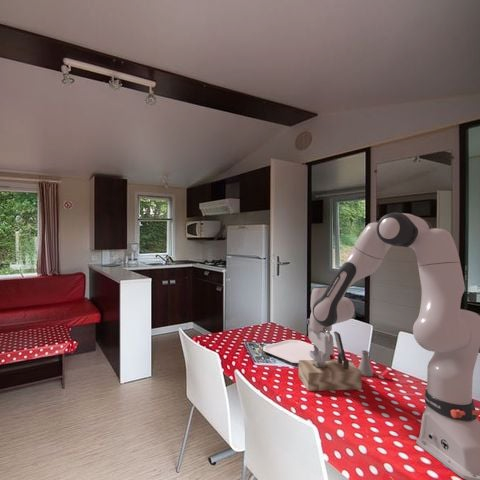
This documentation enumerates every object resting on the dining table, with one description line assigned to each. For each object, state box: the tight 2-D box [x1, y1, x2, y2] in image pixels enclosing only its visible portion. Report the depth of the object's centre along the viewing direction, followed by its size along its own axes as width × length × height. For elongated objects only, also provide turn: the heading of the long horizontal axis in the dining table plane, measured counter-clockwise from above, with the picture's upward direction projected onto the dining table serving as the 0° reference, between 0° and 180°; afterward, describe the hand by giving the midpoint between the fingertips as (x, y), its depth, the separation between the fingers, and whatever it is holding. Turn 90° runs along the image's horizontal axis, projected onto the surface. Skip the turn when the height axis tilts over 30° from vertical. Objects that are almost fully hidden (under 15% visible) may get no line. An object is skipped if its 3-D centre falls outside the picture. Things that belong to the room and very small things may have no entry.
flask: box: [357, 350, 374, 378], centre depth 142 cm, size 7×7×10 cm
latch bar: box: [333, 331, 346, 361], centre depth 132 cm, size 12×4×1 cm
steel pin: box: [310, 351, 331, 368], centre depth 132 cm, size 6×6×8 cm
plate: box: [262, 339, 332, 365], centre depth 165 cm, size 29×29×2 cm
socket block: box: [297, 353, 363, 392], centre depth 132 cm, size 22×13×10 cm, turn 96°
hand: (319, 357), depth 132 cm, fingers closed on steel pin, 6 cm apart
